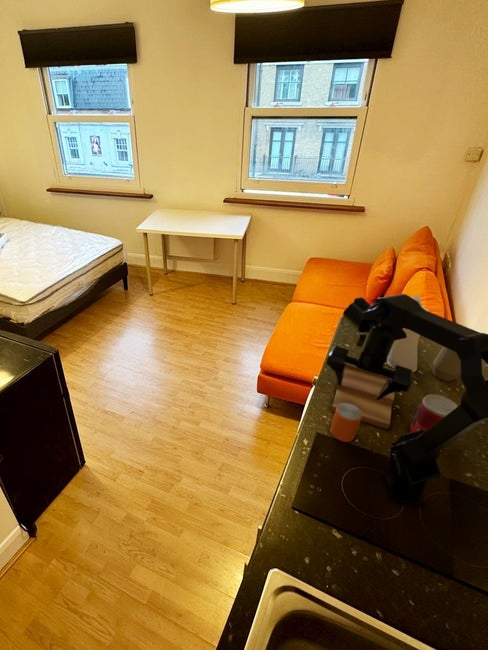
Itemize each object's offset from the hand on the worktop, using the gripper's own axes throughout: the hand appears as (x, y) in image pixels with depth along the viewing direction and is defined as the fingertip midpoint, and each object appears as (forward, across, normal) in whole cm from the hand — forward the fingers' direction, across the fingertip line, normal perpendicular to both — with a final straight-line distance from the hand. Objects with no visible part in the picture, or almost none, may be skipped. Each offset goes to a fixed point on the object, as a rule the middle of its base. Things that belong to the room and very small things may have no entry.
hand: (358, 392), depth 96 cm
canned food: (+13, -20, -8) cm, 24 cm away
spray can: (+14, -10, -37) cm, 41 cm away
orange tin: (+13, 0, +3) cm, 13 cm away
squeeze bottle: (+14, -23, -38) cm, 46 cm away
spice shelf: (+13, -2, -13) cm, 19 cm away
